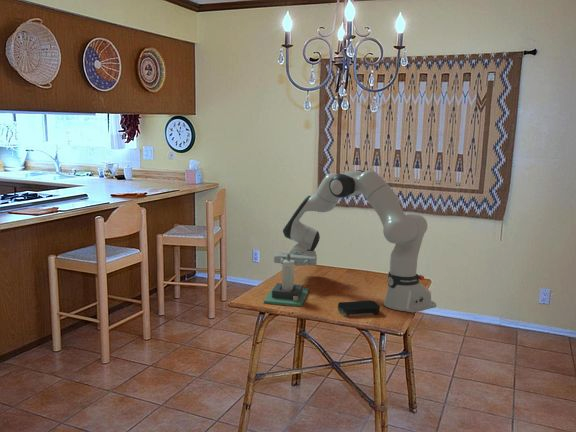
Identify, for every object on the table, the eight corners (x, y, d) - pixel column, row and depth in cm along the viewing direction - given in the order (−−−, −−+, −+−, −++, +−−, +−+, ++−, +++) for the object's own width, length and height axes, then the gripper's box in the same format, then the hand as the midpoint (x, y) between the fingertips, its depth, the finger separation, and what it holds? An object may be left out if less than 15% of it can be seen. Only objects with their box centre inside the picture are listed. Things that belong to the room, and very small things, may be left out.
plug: (283, 292, 231) (284, 251, 228) (293, 293, 231) (294, 252, 227) (281, 296, 226) (282, 254, 223) (291, 297, 225) (292, 255, 222)
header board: (274, 287, 241) (274, 279, 240) (308, 290, 238) (309, 282, 238) (263, 303, 220) (263, 294, 219) (301, 306, 217) (301, 297, 216)
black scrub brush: (372, 308, 218) (373, 300, 218) (380, 315, 210) (381, 307, 210) (335, 310, 215) (336, 302, 214) (342, 318, 207) (342, 309, 206)
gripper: (276, 248, 252) (270, 255, 239) (318, 251, 249) (314, 258, 235) (276, 261, 253) (270, 268, 240) (318, 263, 250) (314, 271, 236)
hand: (292, 263), depth 238 cm, fingers open, 8 cm apart
